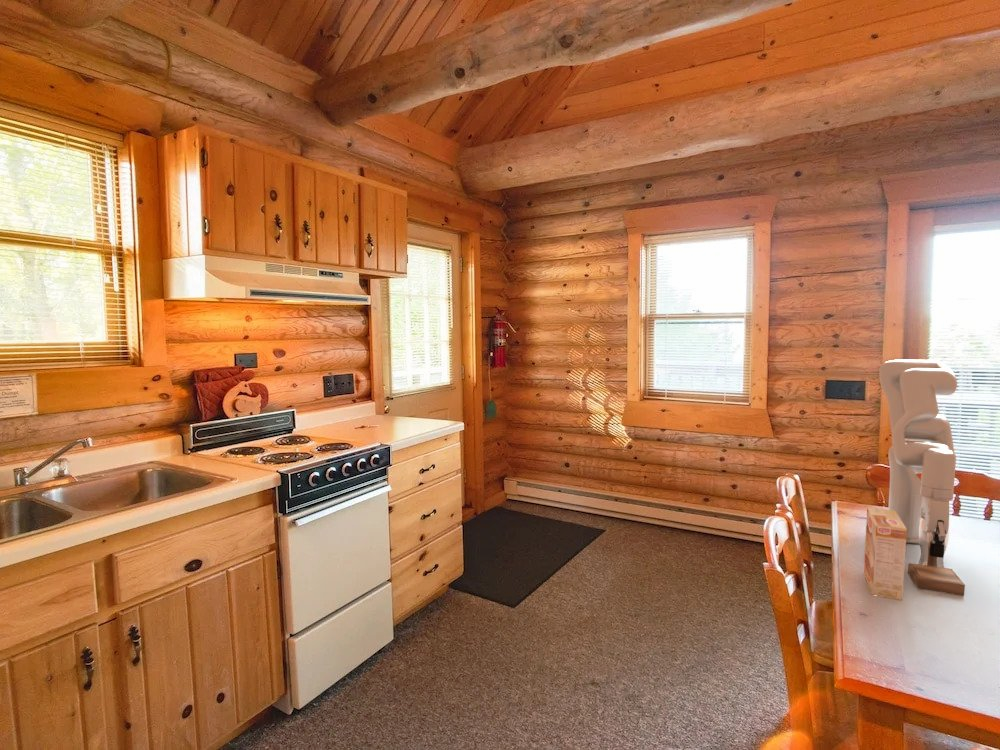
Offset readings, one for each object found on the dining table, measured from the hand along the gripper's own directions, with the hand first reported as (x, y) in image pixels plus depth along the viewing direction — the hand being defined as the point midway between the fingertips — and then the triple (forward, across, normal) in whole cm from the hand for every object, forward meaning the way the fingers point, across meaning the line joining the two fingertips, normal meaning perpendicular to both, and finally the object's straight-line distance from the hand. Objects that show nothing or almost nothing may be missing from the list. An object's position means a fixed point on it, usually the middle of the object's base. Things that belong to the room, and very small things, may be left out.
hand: (932, 551), depth 162 cm
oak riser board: (+5, +11, -2) cm, 12 cm away
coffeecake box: (+5, +18, -16) cm, 24 cm away
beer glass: (+5, 0, 0) cm, 5 cm away
